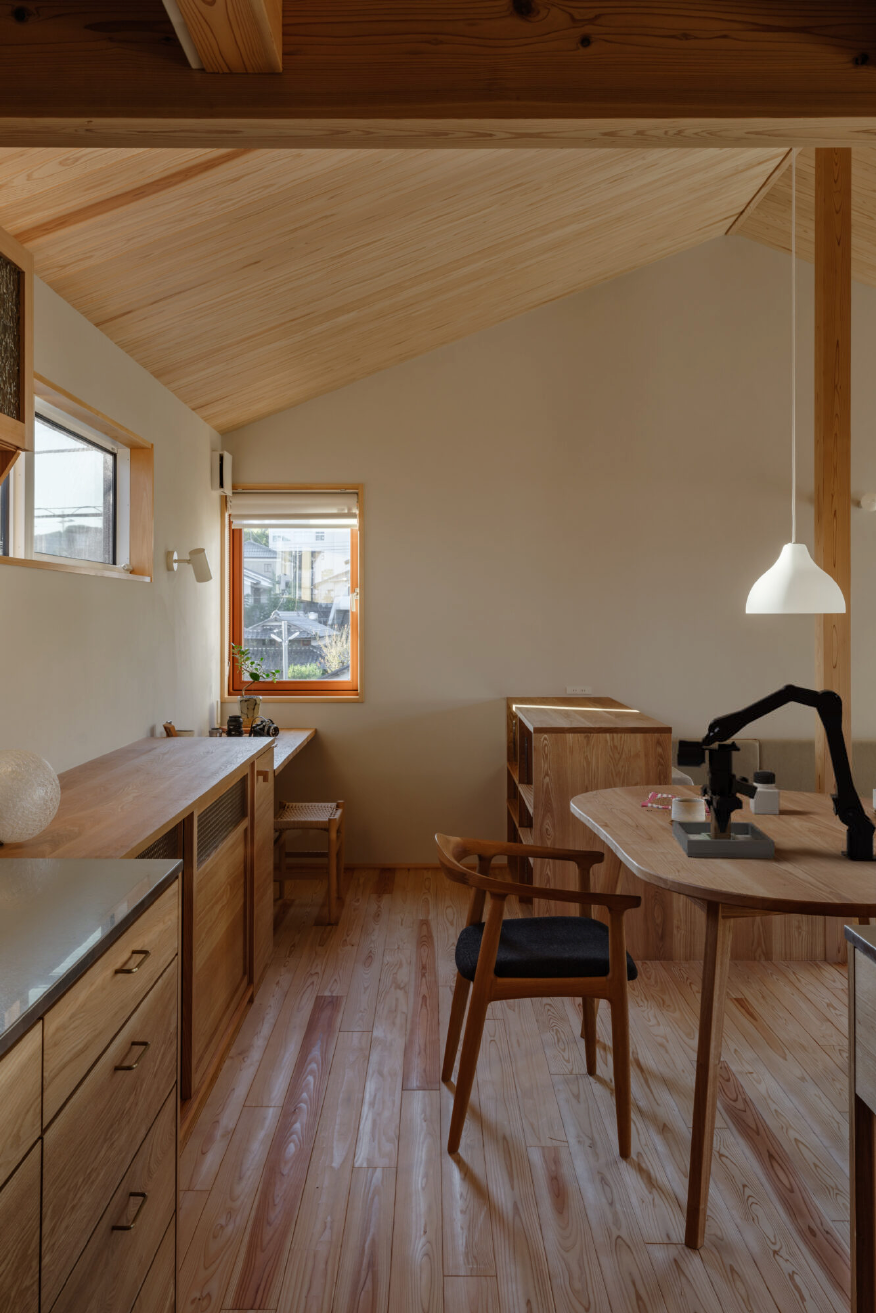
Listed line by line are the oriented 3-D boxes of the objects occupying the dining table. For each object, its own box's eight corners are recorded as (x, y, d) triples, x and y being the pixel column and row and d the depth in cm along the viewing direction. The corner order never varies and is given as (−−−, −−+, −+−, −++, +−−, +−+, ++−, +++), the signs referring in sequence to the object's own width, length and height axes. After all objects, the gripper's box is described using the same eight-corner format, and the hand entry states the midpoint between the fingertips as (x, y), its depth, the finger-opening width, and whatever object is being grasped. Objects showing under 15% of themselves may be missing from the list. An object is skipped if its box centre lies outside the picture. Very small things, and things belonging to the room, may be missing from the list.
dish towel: (649, 801, 268) (649, 790, 268) (726, 806, 258) (726, 795, 258) (640, 812, 252) (640, 800, 252) (721, 818, 243) (721, 806, 243)
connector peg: (731, 841, 206) (730, 808, 206) (714, 840, 207) (714, 808, 206) (727, 837, 210) (727, 805, 210) (710, 836, 211) (710, 805, 210)
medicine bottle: (779, 814, 244) (779, 773, 243) (753, 814, 245) (753, 773, 245) (774, 809, 251) (774, 769, 250) (749, 809, 252) (749, 769, 252)
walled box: (774, 858, 197) (774, 841, 197) (687, 856, 200) (687, 840, 199) (751, 837, 217) (751, 822, 217) (672, 836, 219) (672, 821, 219)
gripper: (764, 774, 198) (765, 840, 198) (744, 762, 216) (744, 822, 217) (716, 774, 199) (716, 840, 199) (700, 762, 218) (700, 822, 218)
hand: (720, 830), depth 208 cm, fingers closed on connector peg, 4 cm apart
